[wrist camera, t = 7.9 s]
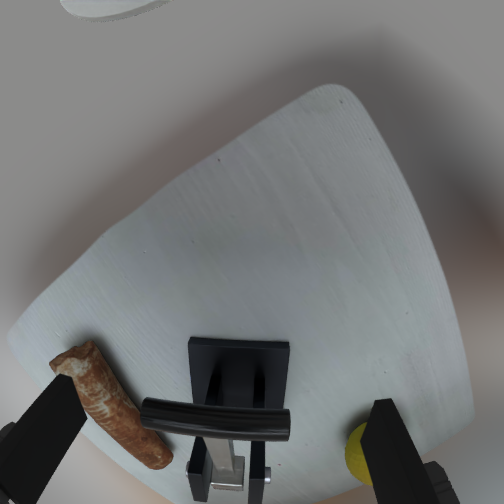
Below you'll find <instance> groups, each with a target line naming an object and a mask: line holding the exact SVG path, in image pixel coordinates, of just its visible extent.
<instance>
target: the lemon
mask: <svg viewBox="0 0 504 504" xmlns="http://www.w3.org/2000/svg"><path fill="white" fill-rule="evenodd" d="M366 424H367V422H365V423H363V424H361V425H360V426H358V427H357V428H356V429H355V430H354V431H353V432H352V433H351V434H350V437H349V439H348V442H347V444H346V447H345V460H346V464H347V467H348V469H349V471H350V473H351V474H352V475H353V476H354V477H355V478H357V479H358V480H359V481H361V482H363V483H365V484H367V485H371V486H373V484H372V481H371V477H370V474H369V471H368V467H367V464H366V461H365V457H364V454H363V451H362V448H361V444H360V439H361V437H362V434H363V432H364V429H365V427H366Z"/></svg>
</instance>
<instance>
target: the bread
mask: <svg viewBox="0 0 504 504" xmlns="http://www.w3.org/2000/svg"><path fill="white" fill-rule="evenodd" d="M49 365H50V367H51V369H52V370H53V371H54V373H55V374H56V376H57V375H58V374H59V373H61V374H64V375H68V376H71V377H72V379H73V382H74V385H75V387H76V390H77V393H78V396H79V398H80V401H81V404H82V406H83V409H84V410H85V411H86V412H87V413H88V414H89V415H90V416H91V417H92V418H93V419H94V421H95V422H96V423H97V424H98V425H99V426H100V427H101V428H102V429H104V430H105V431H106V432H107V433H108V434H109V435H110V436H111V437H112V438H113V439H114V440H115V441H117V442H118V443H119V444H120V445H121V446H122V447H123V448H124V449H125V450H127V451H128V452H129V453H130V454H131V455H133V456H134V457H135V458H136V459H138V460H139V461H140V462H142V463H143V464H144V465H146V466H147V467H148V468H150V469H154V470H159V469H163V468H165V467H166V466H167V465H168V464H170V463H171V462H172V459H173V457H174V455H173V453H172V452H171V450H170V449H169V448H168V447H167V446H166V445H165V444H164V442H163V441H162V440H161V439H160V438H159V436H158V435H157V434H156V432H155V431H154V430H151V429H146V428H144V427H142V425H141V421H140V412H139V410H138V409H137V408H136V406H135V405H134V404H133V403H132V401H131V400H130V398H129V397H128V396H127V394H126V392H125V391H124V390H123V388H122V386H121V385H120V384H119V382H118V381H117V379H116V377H115V375H114V374H113V372H112V371H111V369H110V367H109V366H108V364H107V363H106V361H105V359H104V358H103V356H102V354H101V353H100V351H99V350H98V348H97V346H96V345H95V344H94V342H93V341H87V342H86V343H85V344H84V345H83V346H80V347H77V346H74V347H73V348H71V349H70V350H68V351H66V352H64V353H61V354H60V355H58V356H57V357H55V358H54V359H53V360H52V361H50V362H49Z"/></svg>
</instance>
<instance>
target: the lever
mask: <svg viewBox="0 0 504 504" xmlns="http://www.w3.org/2000/svg"><path fill="white" fill-rule="evenodd" d="M140 421H141V425H142V427H144V428H146V429H151V430H157V431H163V432H168V433H175V434H182V435H189V436H197V437H203V439H204V441H205V444H206V446H207V449H208V451H209V453H210V456H211V458H212V469H211V478H210V484H211V485H212V486H213V488H214V489H219V490H231V491H243V486H244V470H245V457H244V456H235V455H234V448H233V440H243V441H288V440H289V436H290V425H291V419H290V411H289V409H264V408H240V407H224V406H212V405H202V404H193V403H184V402H177V401H169V400H163V399H156V398H150V397H146V398H145V399H144V400H143V402H142V405H141V410H140Z"/></svg>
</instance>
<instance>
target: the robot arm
mask: <svg viewBox="0 0 504 504" xmlns="http://www.w3.org/2000/svg"><path fill="white" fill-rule="evenodd" d="M87 419H88V418H87V416H86V414H85V411H84V409H83V406H82V404H81V401H80V398H79V396H78V393H77V390H76V387H75V385H74V382H73V379H72V377H71V376H68V375H64V374H61V373H59V374H58V375H57V376H56V377H55V379H54V380H53V381H52V382H51V383H50V384H49V385H48V386H47V388H46V389H45V390H44V391H43V392H42V393H41V395H40V396H39V397H38V398H37V399H36V400H35V401H34V403H33V404H32V405H31V406H30V407H29V408H28V410H27V411H26V412H25V413H24V414H23V415H22V417H21V418H20V419H19V421H17V423H14V422H11V423H9V424H7V425H6V426H4V427H3V428H2V429H1V430H0V504H9V502H8V501H9V499H11V500H12V501H13V502H14V503H15V504H36V503H37V501H38V499H39V498H40V496H41V494H42V492H43V491H44V489H45V487H46V485H47V484H48V482H49V480H50V479H51V477H52V475H53V474H54V472H55V470H56V468H57V467H58V465H59V464H60V462H61V460H62V459H63V457H64V455H65V454H66V452H67V450H68V449H69V447H70V445H71V444H72V442H73V441H74V439H75V438H76V436H77V434H78V433H79V431H80V430H81V428H82V426H83V425H84V423H85V422H86V420H87ZM360 444H361V448H362V451H363V454H364V457H365V461H366V464H367V467H368V471H369V474H370V477H371V481H372V484H373V488H374V491H375V495H376V498H377V502H378V504H460V502H459V500H458V498H457V496H456V494H455V492H454V489H452V485H451V483H450V481H448V477H447V475H446V473H445V471H444V469H443V468H442V467H441V466H440V465H439V464H438V463H437V462H435V461H432V462H429V463H425V464H423V463H422V460H421V458H420V456H419V454H418V452H417V450H416V448H415V445H414V443H413V441H412V439H411V437H410V435H409V433H408V431H407V429H406V427H405V425H404V423H403V420H402V418H401V416H400V414H399V412H398V410H397V408H396V406H395V404H394V402H393V400H392V398H389V399H381V400H375V402H374V405H373V408H372V411H371V413H370V416H369V419H368V421H367V424H366V427H365V429H364V432H363V434H362V437H361V439H360Z"/></svg>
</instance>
